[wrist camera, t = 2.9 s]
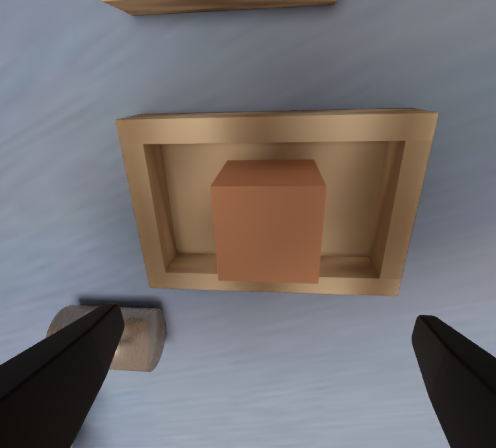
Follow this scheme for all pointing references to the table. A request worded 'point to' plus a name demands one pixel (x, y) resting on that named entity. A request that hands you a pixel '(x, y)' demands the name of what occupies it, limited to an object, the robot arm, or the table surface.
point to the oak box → (205, 5)
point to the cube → (268, 220)
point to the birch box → (280, 148)
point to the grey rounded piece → (126, 335)
